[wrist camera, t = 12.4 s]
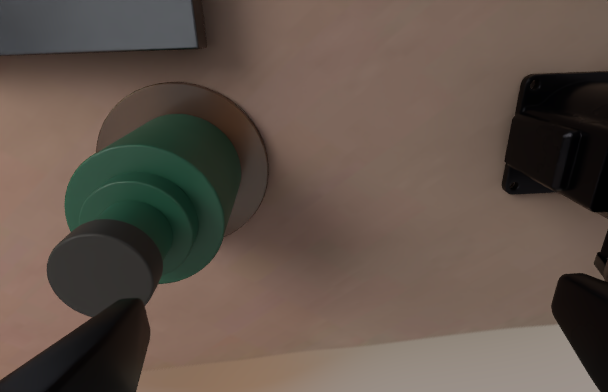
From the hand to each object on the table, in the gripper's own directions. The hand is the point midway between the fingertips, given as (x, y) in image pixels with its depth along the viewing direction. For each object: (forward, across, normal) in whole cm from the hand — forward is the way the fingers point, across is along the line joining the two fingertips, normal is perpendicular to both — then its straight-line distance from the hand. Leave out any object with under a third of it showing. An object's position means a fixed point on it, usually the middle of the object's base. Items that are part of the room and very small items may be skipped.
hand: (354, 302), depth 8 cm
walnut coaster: (+13, +7, +1) cm, 15 cm away
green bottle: (+13, +7, +1) cm, 14 cm away
